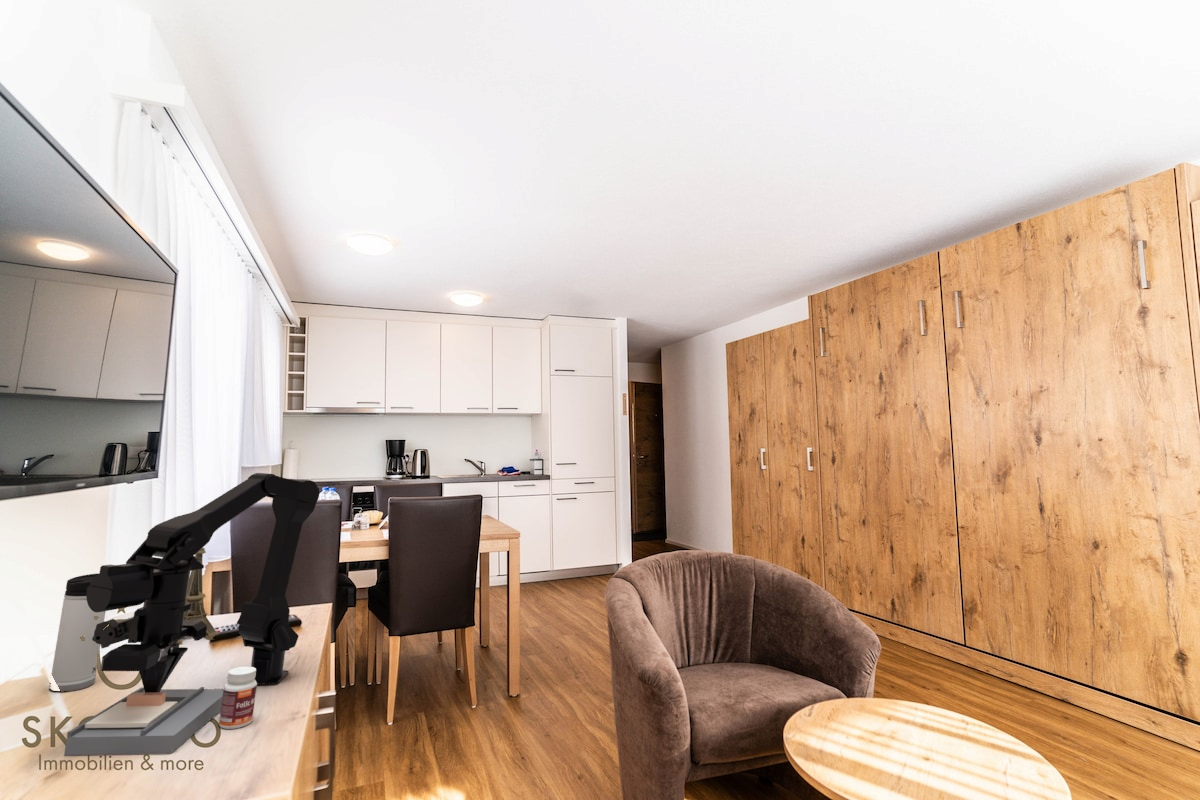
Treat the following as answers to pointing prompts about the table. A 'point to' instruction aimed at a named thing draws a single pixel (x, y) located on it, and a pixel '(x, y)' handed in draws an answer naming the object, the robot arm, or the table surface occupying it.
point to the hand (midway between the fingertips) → (151, 698)
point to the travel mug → (76, 638)
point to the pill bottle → (238, 698)
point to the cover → (134, 711)
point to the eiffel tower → (197, 599)
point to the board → (150, 727)
